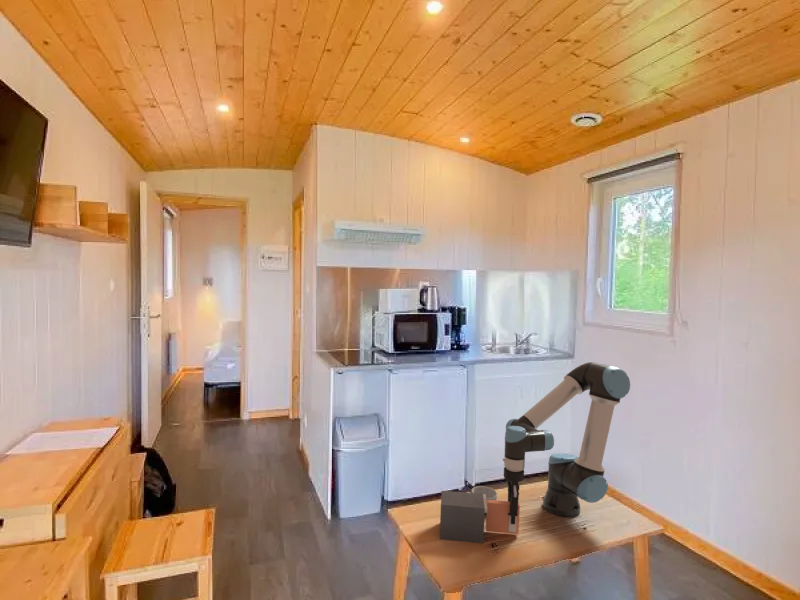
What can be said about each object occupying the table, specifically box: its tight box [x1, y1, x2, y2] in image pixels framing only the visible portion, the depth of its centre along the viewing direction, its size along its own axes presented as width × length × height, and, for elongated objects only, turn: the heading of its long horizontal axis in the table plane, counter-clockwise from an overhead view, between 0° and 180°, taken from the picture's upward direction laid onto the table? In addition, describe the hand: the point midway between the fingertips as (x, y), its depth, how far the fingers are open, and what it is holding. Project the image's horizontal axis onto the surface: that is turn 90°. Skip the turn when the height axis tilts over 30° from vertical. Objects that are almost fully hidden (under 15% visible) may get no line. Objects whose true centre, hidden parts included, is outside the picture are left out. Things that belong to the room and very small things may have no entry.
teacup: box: [465, 485, 498, 514], centre depth 195 cm, size 14×11×8 cm
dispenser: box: [439, 490, 487, 544], centre depth 176 cm, size 17×12×13 cm
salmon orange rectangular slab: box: [485, 499, 521, 535], centre depth 176 cm, size 12×2×11 cm, turn 83°
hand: (511, 529), depth 176 cm, fingers closed on salmon orange rectangular slab, 2 cm apart
